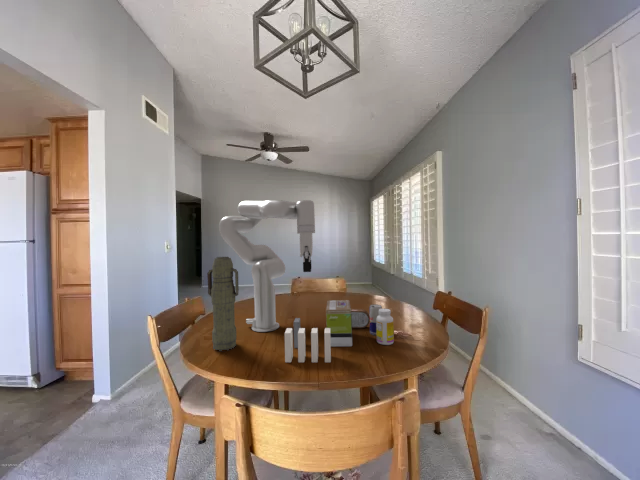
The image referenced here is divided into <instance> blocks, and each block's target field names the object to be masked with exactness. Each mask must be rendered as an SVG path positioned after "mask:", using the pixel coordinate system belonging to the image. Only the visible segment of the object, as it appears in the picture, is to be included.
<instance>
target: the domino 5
mask: <svg viewBox="0 0 640 480" xmlns="http://www.w3.org/2000/svg"><path fill="white" fill-rule="evenodd" d="M323 332H324V335H323V336H324V363H331V362H332V355H331V354H332V353H331V351H332V346H331V336H330V328H327V327H325V328H324V331H323Z"/></svg>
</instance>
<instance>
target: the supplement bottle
mask: <svg viewBox="0 0 640 480" xmlns="http://www.w3.org/2000/svg"><path fill="white" fill-rule="evenodd" d="M391 314H392V312H391V309H389V308H382V309H379V316H377V318H376V333H377V335H376V342H377V343H378V344H380V345H383V346H390V345H391V346H392V345H393V344H394V342H395V341H394V340H395V336H394V335H395V331H394V329H395V328H394V327H395V326H394V318H393V316H391Z"/></svg>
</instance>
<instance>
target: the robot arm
mask: <svg viewBox="0 0 640 480" xmlns="http://www.w3.org/2000/svg"><path fill="white" fill-rule="evenodd" d="M237 212H238V214H239V215H228V216H224V217H222V218H221V219H220V221H219V224H218V229H219V234H220V236H221V238H222V239H223V241H224V243H226V244H227V246H229V247H230V248H231V249H232V250H233V251H234V252H235V254H236V255H238V257H239V258H240V259H241V260H242V262H244V263H245V264H246V265H248V266H251V271H250V272H251V277H252V281H253V293H254V294H253V295H254V298H253V300H254V317H253V318H246V319H245V324H247V325H251V330H252V331H253V332H258V333H259V332H260V333H266V332H273V331H276V330H277V329H279V328H280V323H279V322H276V321H277V319H276V317H277V316H276V315H277V314H276V288H275V284H274V283H273V280H274V279H277V278H281V277H282V276H284V275H285V273H286V264H285V263H284V261H283V260H282V259H281V258H280V256H279V255H278V254H276V252H275V251H274V250H273V249H272V248H271V247H269V246H267V245H266V244H265V245H264V244H253V242H251V241H250V240H249V239H248V238H247V237H246V236H244V235H243V233H244V234H247V233H249V232H251V231H253V229H255V228H256V227H257V226H258V224H260V222H261V221H262V220H263V219H264V220H267V219H282V220H284V219H285V220H296V234H299V257H300V258H303V262H302V271H303V273H311V272H312V259H311V257H312V256H313V245H314V244H313V242H314V241H313V234H315V233H316V226H315V225H316V224H315V223H316V222H315V221H316V220H315V219H316V218H315V216H316V215H315V202H314V201H313V200H310V199H302V200H298V201H297V202H296V201H289V200H278V199H267V200H266V199H265V200H263V199H260V200H255V199H249V200H248V199H247V200H245V199H244V200H243V201H241V202H239V204H238V206H237Z"/></svg>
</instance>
